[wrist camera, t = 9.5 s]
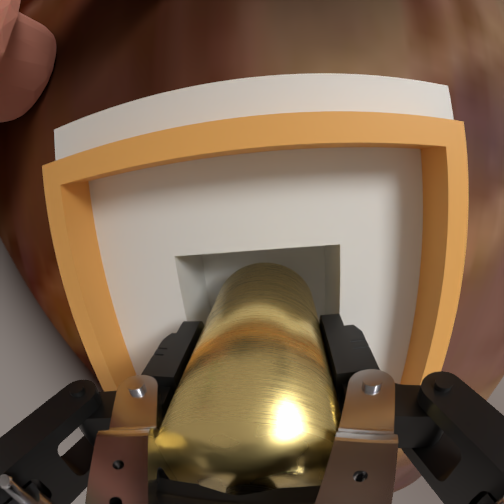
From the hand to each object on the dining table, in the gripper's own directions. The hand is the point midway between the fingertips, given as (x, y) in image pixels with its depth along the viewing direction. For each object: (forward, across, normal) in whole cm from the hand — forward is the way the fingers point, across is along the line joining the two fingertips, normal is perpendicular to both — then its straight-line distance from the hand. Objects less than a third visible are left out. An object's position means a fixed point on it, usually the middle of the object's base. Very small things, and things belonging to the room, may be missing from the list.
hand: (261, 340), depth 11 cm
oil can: (+3, 0, 0) cm, 3 cm away
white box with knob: (+7, 0, +2) cm, 7 cm away
